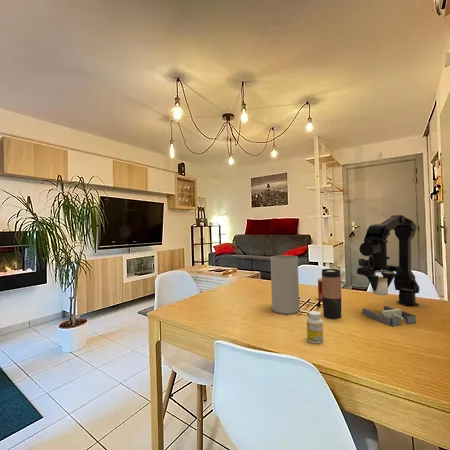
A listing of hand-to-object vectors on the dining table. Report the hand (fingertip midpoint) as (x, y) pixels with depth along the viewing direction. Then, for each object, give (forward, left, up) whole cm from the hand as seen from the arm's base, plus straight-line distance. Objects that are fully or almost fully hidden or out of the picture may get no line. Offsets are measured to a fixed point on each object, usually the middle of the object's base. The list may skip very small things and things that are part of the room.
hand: (380, 290), depth 112 cm
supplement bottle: (+40, +13, -11) cm, 43 cm away
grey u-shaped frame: (0, +4, -11) cm, 11 cm away
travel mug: (+20, -5, -11) cm, 24 cm away
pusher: (0, +8, -11) cm, 13 cm away
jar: (0, 0, -2) cm, 2 cm away
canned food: (+8, -26, -11) cm, 30 cm away
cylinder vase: (+35, -19, -11) cm, 42 cm away
